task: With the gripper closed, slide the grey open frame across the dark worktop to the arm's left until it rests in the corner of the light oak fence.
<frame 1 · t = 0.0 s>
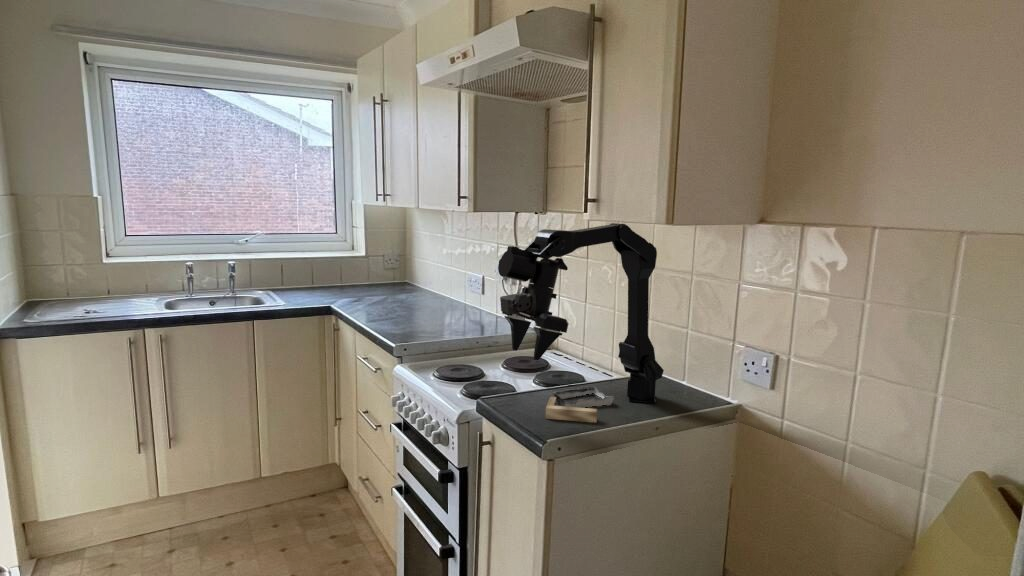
hand: (524, 354, 128), 15 cm above the countertop, tool pointing down, fingers open, 9 cm apart
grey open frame: (580, 403, 144), on the countertop
oak fence: (572, 419, 132), on the countertop
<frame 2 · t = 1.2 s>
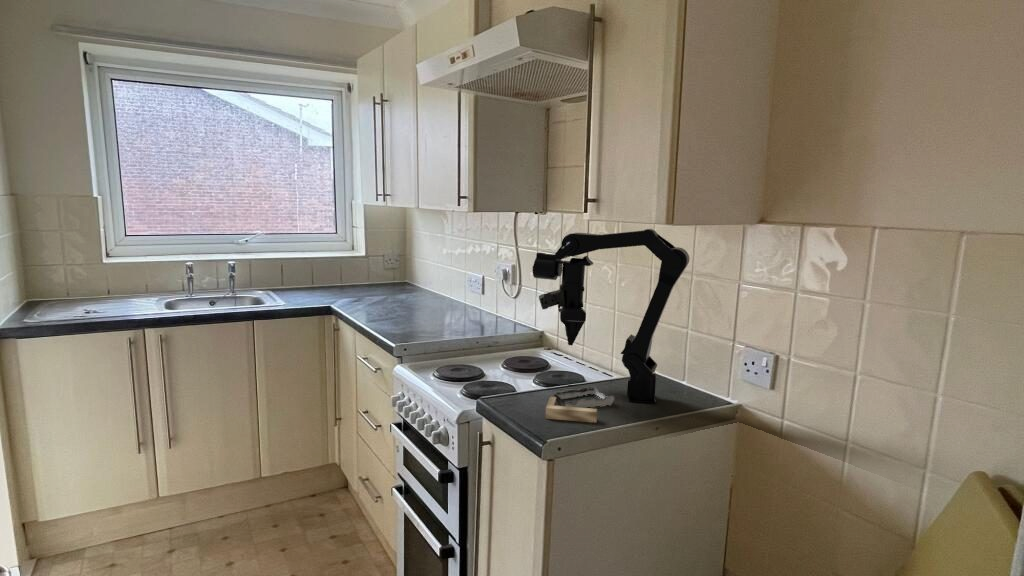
hand: (569, 340, 152), 13 cm above the countertop, tool pointing down, fingers open, 9 cm apart
nothing on the countertop moved.
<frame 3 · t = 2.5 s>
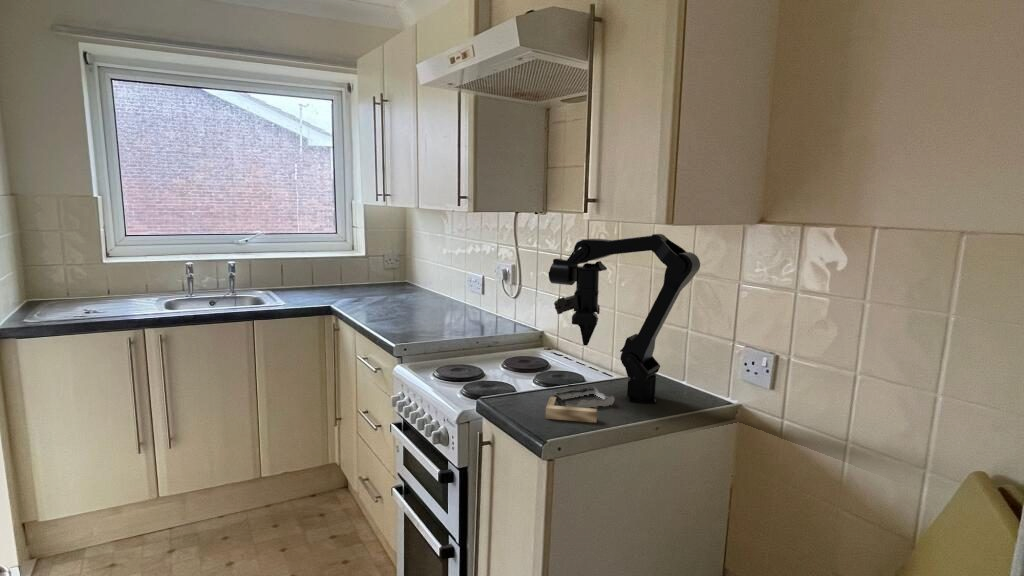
hand: (585, 345, 154), 11 cm above the countertop, tool pointing down, fingers closed
nothing on the countertop moved.
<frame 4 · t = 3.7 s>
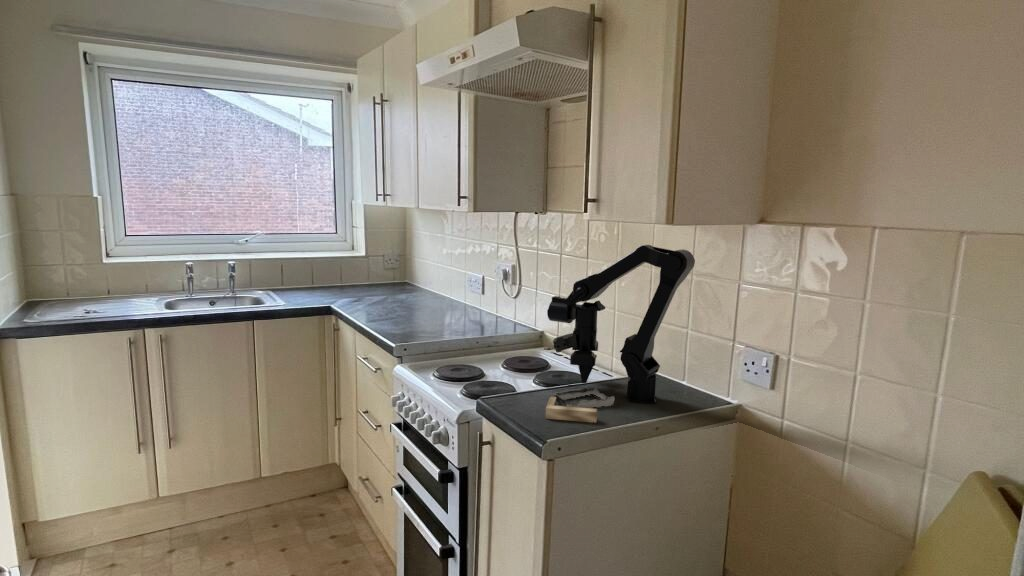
hand: (583, 382, 155), 1 cm above the countertop, tool pointing down, fingers closed
nothing on the countertop moved.
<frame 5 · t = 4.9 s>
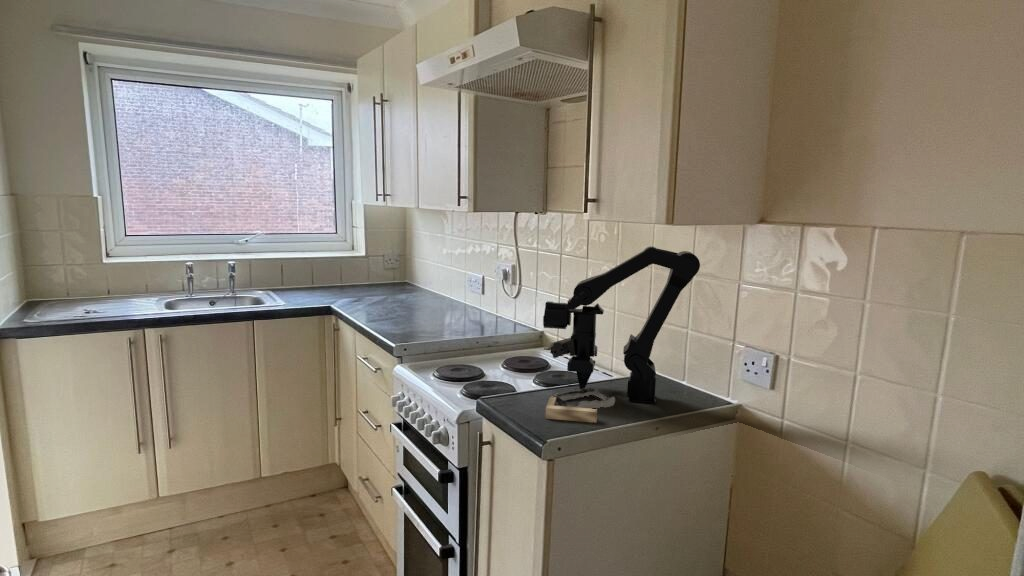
hand: (582, 389, 150), 1 cm above the countertop, tool pointing down, fingers closed
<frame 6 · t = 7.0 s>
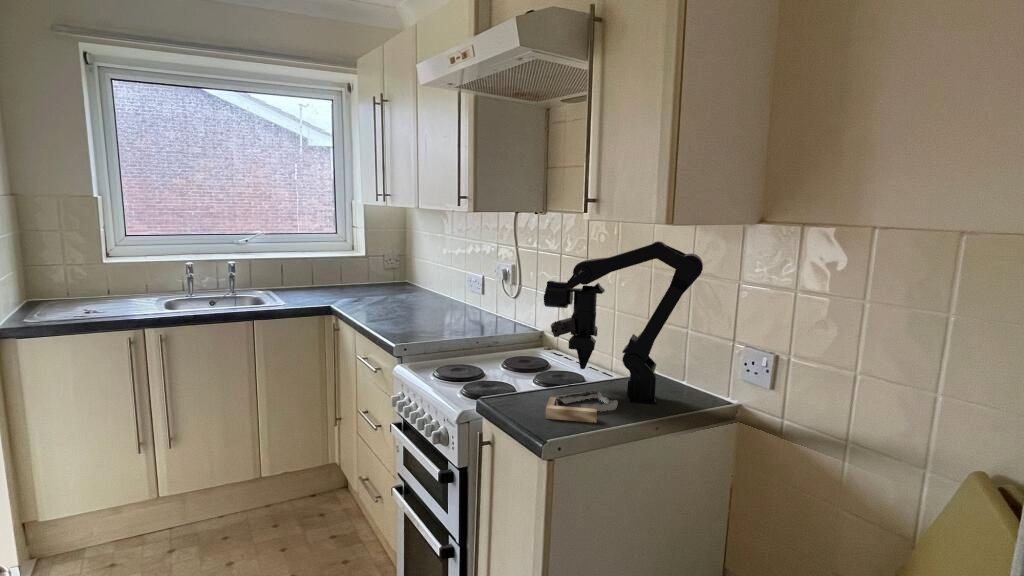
hand: (582, 368, 151), 6 cm above the countertop, tool pointing down, fingers closed
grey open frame: (583, 408, 141), on the countertop
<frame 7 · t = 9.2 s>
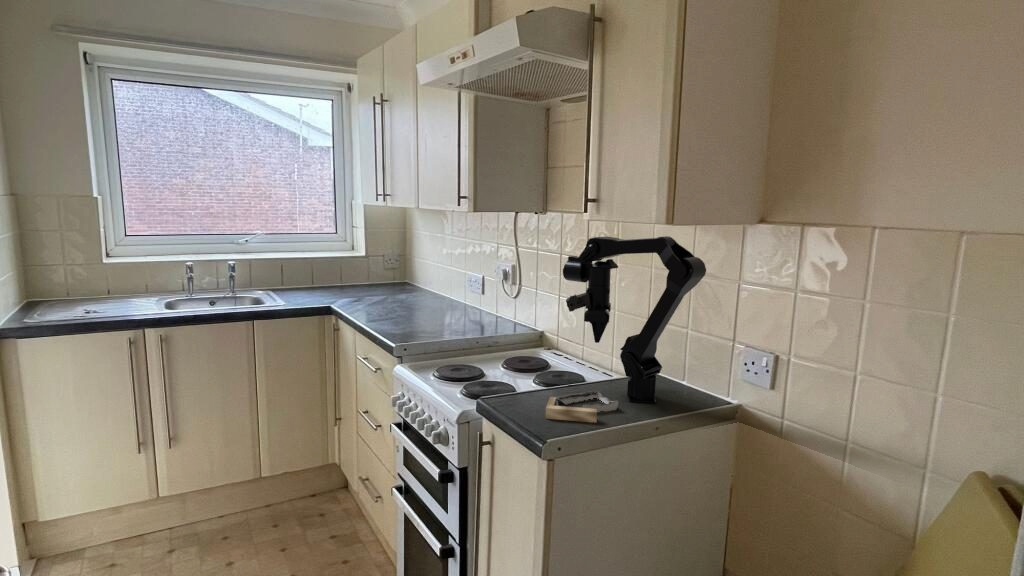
hand: (597, 342, 155), 12 cm above the countertop, tool pointing down, fingers closed
nothing on the countertop moved.
at the end: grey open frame 2.4 cm from the target spot, on the countertop; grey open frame moved 3.8 cm from its start; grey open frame tilted 2° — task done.
